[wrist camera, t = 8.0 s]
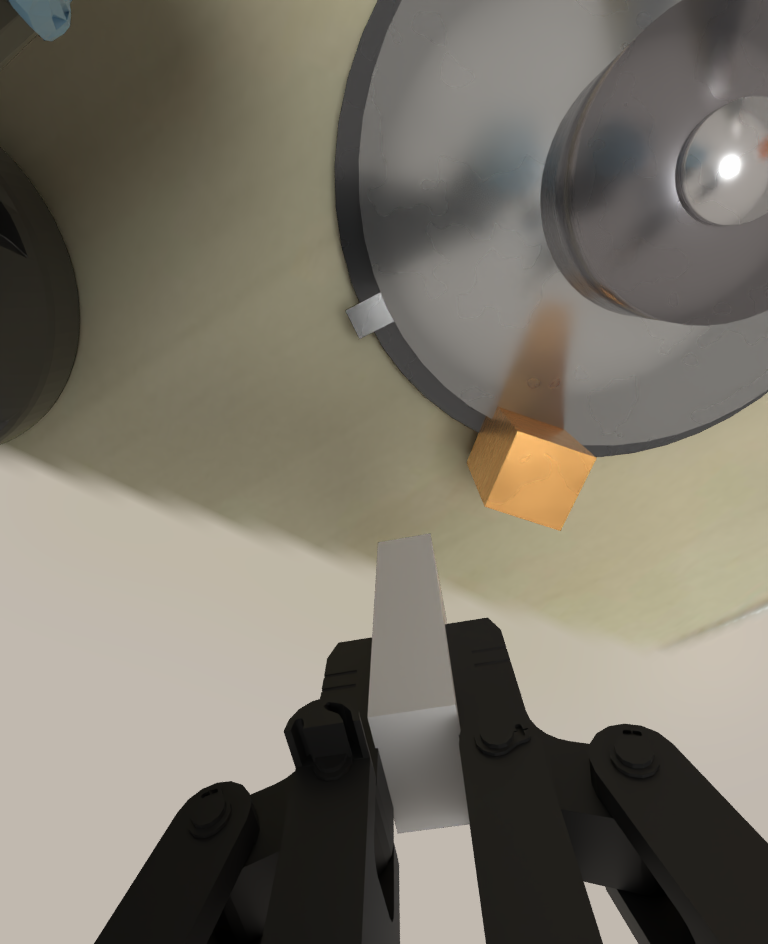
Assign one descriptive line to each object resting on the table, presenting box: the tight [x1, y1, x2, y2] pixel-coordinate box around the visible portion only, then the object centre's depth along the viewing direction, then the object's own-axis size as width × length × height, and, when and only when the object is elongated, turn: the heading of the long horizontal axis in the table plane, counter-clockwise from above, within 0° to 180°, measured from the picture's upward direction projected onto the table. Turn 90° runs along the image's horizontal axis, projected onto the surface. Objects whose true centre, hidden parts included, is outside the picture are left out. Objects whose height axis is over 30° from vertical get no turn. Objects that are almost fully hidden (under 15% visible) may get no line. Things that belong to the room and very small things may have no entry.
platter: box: [346, 0, 768, 531], centre depth 19 cm, size 20×22×5 cm
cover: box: [540, 0, 768, 326], centre depth 18 cm, size 9×9×5 cm
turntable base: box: [335, 0, 768, 457], centre depth 21 cm, size 22×22×1 cm
